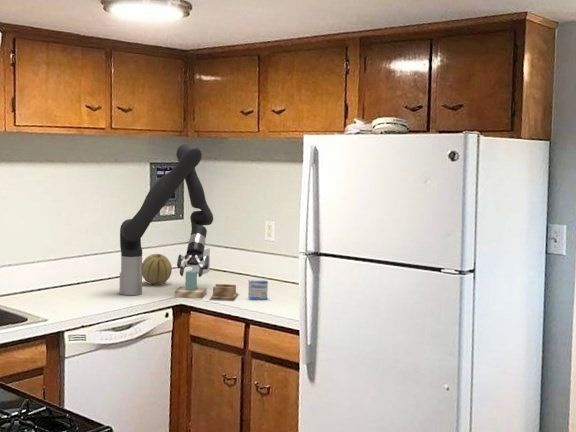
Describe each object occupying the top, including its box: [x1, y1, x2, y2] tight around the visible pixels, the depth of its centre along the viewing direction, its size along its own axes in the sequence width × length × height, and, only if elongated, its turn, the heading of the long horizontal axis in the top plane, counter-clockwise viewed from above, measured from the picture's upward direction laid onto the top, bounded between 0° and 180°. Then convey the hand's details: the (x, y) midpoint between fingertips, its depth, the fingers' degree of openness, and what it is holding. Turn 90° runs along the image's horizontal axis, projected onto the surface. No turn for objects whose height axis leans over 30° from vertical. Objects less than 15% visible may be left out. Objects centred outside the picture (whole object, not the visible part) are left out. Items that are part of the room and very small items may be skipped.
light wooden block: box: [174, 286, 208, 299], centre depth 338 cm, size 12×10×3 cm
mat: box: [208, 293, 240, 302], centre depth 337 cm, size 11×16×1 cm
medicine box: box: [248, 279, 269, 301], centre depth 335 cm, size 8×4×9 cm, turn 101°
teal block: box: [184, 270, 198, 290], centre depth 338 cm, size 4×3×8 cm, turn 85°
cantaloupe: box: [142, 253, 173, 286], centre depth 363 cm, size 15×15×15 cm
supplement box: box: [191, 247, 211, 274], centre depth 400 cm, size 7×7×13 cm
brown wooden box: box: [210, 283, 239, 300], centre depth 337 cm, size 10×12×5 cm
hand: (190, 275), depth 336 cm, fingers open, 7 cm apart
